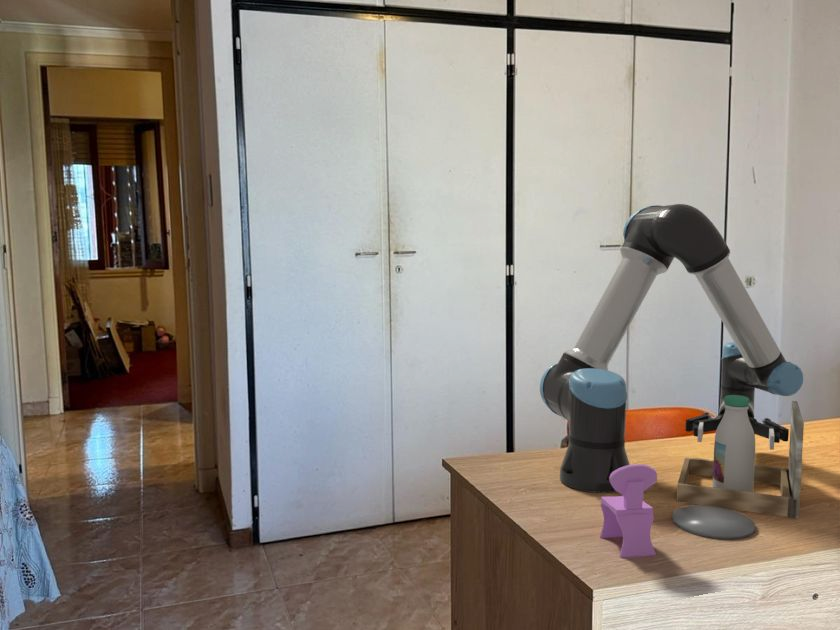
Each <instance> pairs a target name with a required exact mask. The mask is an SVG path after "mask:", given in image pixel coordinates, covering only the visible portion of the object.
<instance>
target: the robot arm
mask: <svg viewBox="0 0 840 630" xmlns="http://www.w3.org/2000/svg"><path fill="white" fill-rule="evenodd" d="M622 233H623V234H622V235H623V243H622V245H621V247H620V249H619V250H620V254H621V256H622V259H621V260H620V263H619V265H618V266H617V268H616V270H615V272H614V274H613V276H612V277H611V279H610V281H609V283H608V285H607V286H606V289H605V290H604V292H603V294H602V296H601V297H600V299H599V301H598V303H597V305H596V307H595V308H594V311H593V313H592V314H591V316H590V317H589V319H588V321H587V324H586V325H585V327H584V328H583V331H582V332H581V334H580V336H579V338H578V340H577V342H576V343H575V346H574V347H573V348H572V349H568V350H565V351H564V352H563V354H561V358H560V359H559V360H558V362H557V363H556V364H553V365H551V366H549V367H548V368H547V369H546V370H545V371H544V373H543V374H542V376H541V378H540V383H539V393H540V397H541V399H542V401H543V403H544V404H545V406H546V407H547V408H548V409H549V410H550V411H551V412H552V413H554V414H555V415H558V416H559V417H562V418H563V419H565V420H567V421H569V422H568V425H569V426H568V445H567V449H566V451H565V454H564V457H563V460H562V463H561V464H560V468H559V480H560V481H561V483H562V484H563V485H565V486H567V487H569V488H572V489H575V490H579V491H584V492H591V493H616V492H617V491H615V489H614V488H613V487H612V485H611V483H610V480H609V477H610V475H611V473H612V472H613V471H615V470H617V469H618V468H621V467H624V466H627V465H631V464H630V461H629V458H628V455H627V451H626V447H625V446H626V445H625V444H626V441H625V440H626V418H627V417H626V416H627V415H626V413H627V400H628V392H627V384H626V383H627V382H626V381H625V379H624V377H622V376H621V375H620V374H618V373H616V372H615V371H611V370H609V368H608V367H609V363H610V361H611V360H612V358H613V357H614V354H615V353H616V351H617V348H619V346H620V344H621V342H622V340H623V338H624V337H625V334H626V333H627V331H628V329H629V328H630V325H631V323H632V322H633V320H634V318H635V316H636V314H637V312H638V311H639V308H641V305H642V303H643V302H644V301H645V300H644V299H645V298H646V295H648V293H649V290H650V288H651V287H652V286H653V283H654V281H655V279H656V277H657V276H658V275H661V274H664V273H666V272H667V271H668V270H669V268H670V266H671V264H672V263H673V261H674V259H677V260H678V261H680V263H682V265H683V267H684V268H685V270H686V271H687V273H688V274H691V275H694V276H695V278H696V279H697V281H698V283H699V284H700V285H701V287H702V289H703V291H704V293H705V295H706V296H707V298H708V300H709V301H710V303H711V305H712V306H713V308H714V310H715V311H716V314H717V315H718V316H719V318H720V320H721V322H722V323H723V325H724V327H725V328H726V331H727V332H728V334H729V336H730V337H731V339H732V340H733V342H731V341H730V342H727V343H725V344H724V345H723V348H722V357H721V384H720V385H721V386H720V400H719V410H718V414H717V415H716V416H714V417H713V416H712V414H710V413H709V412H703V413H702V414H701V415H697V416H694V417H690V418H687V419H685V428H684V429H685V431H686V432H692V434H693V437H697V443H702V441H703V435H704V433H707V432H714V431H715V432H716V430H717V428H718V426H719V424H720V422H721V420H722V418H723V416H724V413H725V407H724V405H725V403H724V398H725V396H727V395H740V396H745V397H748V398H749V406H748V407H749V409H748V410H747V413H748V418H749V421H750V423H751V426H752V428H753V431H754V434H755V435H757V436H759V437H762V438H765V439H768V447H769V450H772V451H773V450H775V444H776V443H777V444H779V443H780V442H781V441H783V442H789V437H790V430H789V428H787V427H784V426H782V425H781V424H779V423H776V422H774V421H772V420H771V419H770V418H767V417H765V418H763V419H761V421H758V420H757V418H755V390H756V389H757V390H761V391H764V392H766V393H769V394H771V395H775V396H780V397H791V396H794V395H795V394H797V393H798V392H799V391H800V389H801V388H802V387H803V384H804V373H803V371H802V369H801V368H800V367H799V366H798V365H796V364H794V363H792V362H791V361H787V360H786V359H785V357H784V355H783V353H782V351H781V350H780V348H779V346H778V345H777V343H776V341H775V339H774V337H773V335H772V334H771V332H770V330H769V328H768V327H767V325H766V323H765V321H764V319H763V318H762V316H761V314H760V313H759V311H758V308H757V307H756V305H755V303H754V301H753V300H752V298H751V296H750V293H748V291H747V289H746V287H745V285H744V284H743V282H742V280H741V278H740V276H739V274H738V273H737V271H736V269H735V267H734V266H733V264H732V262H731V260H730V258H729V257H730V254H731V250H730V248H729V246H728V245H727V243H726V241H725V239H724V237H723V235H722V234H721V233H720V231H719V230H718V228H717V227H716V226H715V225H714V223H713V222H712V221H711V219H710V218H709V217H708V216H707V215H706V214H704V213H703V212H702V210H699V209H698V208H697V207H695V206H692V205H689V204H685V203H677V204H676V203H674V204H670V205H669V204H667V205H658V204H657V205H649V206H646V207H642V208H640V209H638V210H636V211H635V212H633V213H632V214H631V215H630V216H629V217H628V219H627V221H625V224H624V227H623V232H622ZM780 440H781V441H780ZM617 493H618V492H617Z"/></svg>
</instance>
